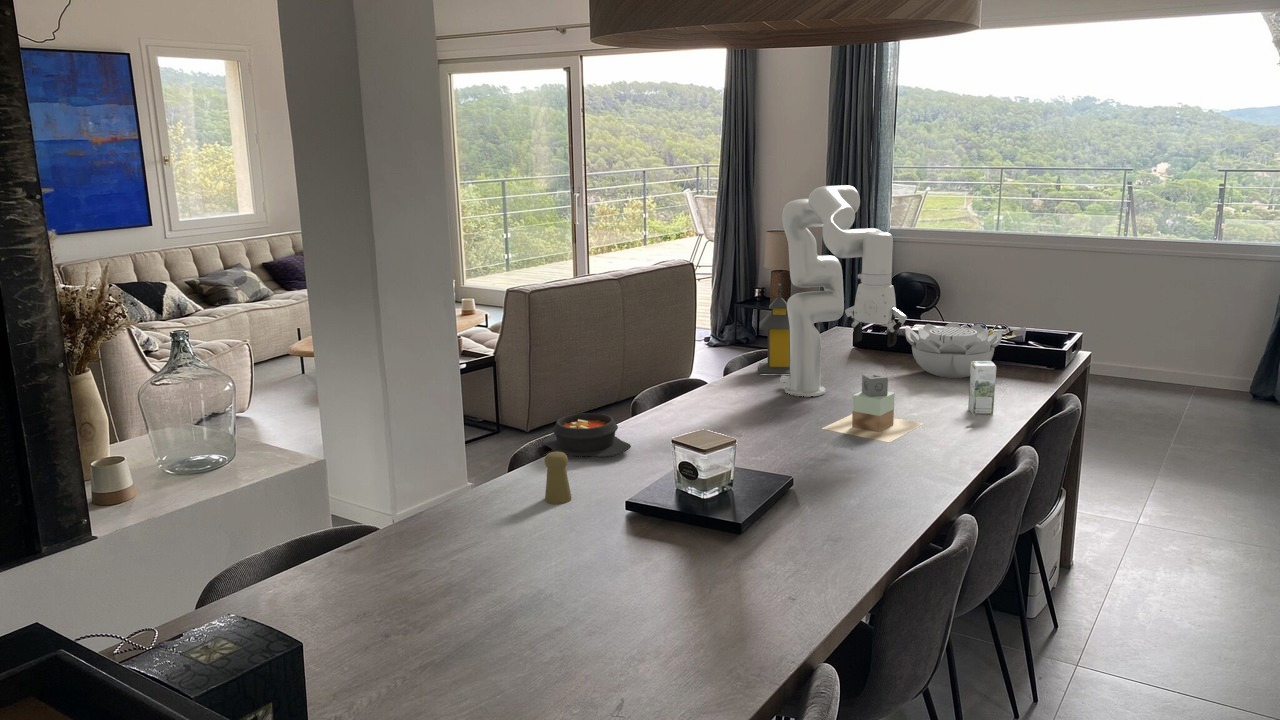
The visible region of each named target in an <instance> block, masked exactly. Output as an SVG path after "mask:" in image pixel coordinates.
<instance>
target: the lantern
mask: <svg viewBox="0 0 1280 720" xmlns="http://www.w3.org/2000/svg"><path fill="white" fill-rule="evenodd" d="M787 302H788V301H786V300H785V299H784V298H783V297H782V283H778V284H777V297H776V298H775V299H774V300H773V301H772V302H770V304H769V306H768V309H769V310H770V309H771V311H770V312H769V313H768V314H767V315H766V316H765V317H764V318H763V319H762V320H760V321H759V326H758V328H759V329H760V330H767V362H759V363H758V375H759V374H790V326H789V318H788V312H787Z"/></svg>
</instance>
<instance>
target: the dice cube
mask: <svg viewBox="0 0 1280 720" xmlns="http://www.w3.org/2000/svg"><path fill="white" fill-rule="evenodd" d="M888 388H889V377H888V376H886V375H884V374H883V373H880V372H876V373H864V374H861V391H862V393H864V394H865V395H867V396H869V397H877V396H887V393H888V392H889V391H888Z"/></svg>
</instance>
